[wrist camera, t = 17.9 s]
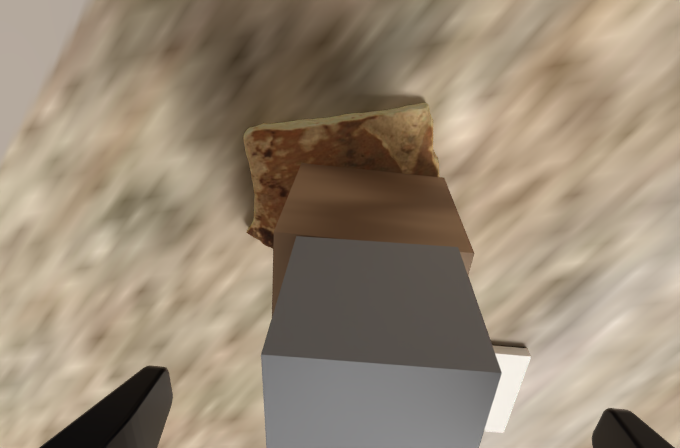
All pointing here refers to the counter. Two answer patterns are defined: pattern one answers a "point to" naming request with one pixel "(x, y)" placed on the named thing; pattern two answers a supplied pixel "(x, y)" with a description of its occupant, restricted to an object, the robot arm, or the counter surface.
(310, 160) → the shard
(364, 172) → the walnut block
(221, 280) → the counter surface
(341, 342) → the gray cube
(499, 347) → the plan card
